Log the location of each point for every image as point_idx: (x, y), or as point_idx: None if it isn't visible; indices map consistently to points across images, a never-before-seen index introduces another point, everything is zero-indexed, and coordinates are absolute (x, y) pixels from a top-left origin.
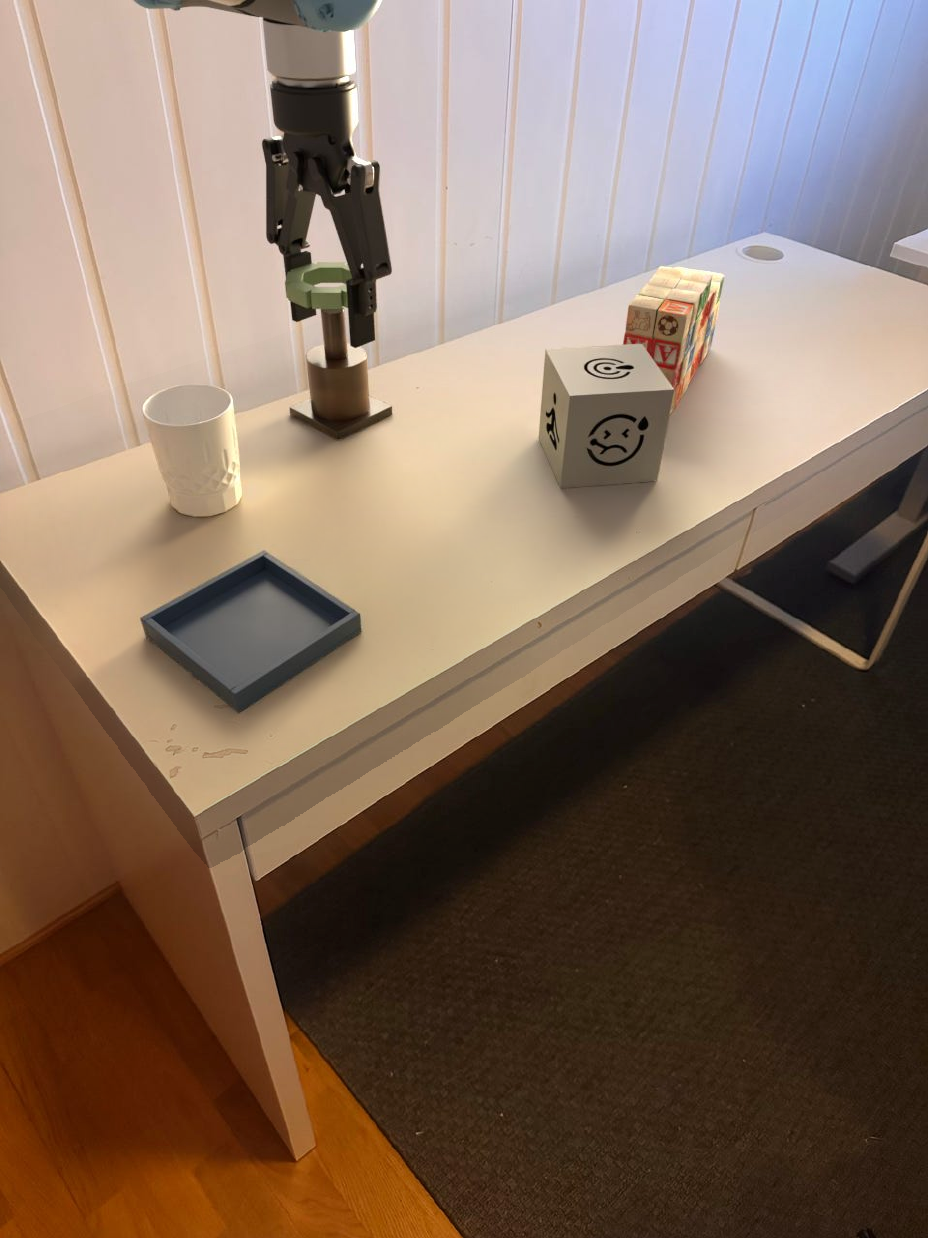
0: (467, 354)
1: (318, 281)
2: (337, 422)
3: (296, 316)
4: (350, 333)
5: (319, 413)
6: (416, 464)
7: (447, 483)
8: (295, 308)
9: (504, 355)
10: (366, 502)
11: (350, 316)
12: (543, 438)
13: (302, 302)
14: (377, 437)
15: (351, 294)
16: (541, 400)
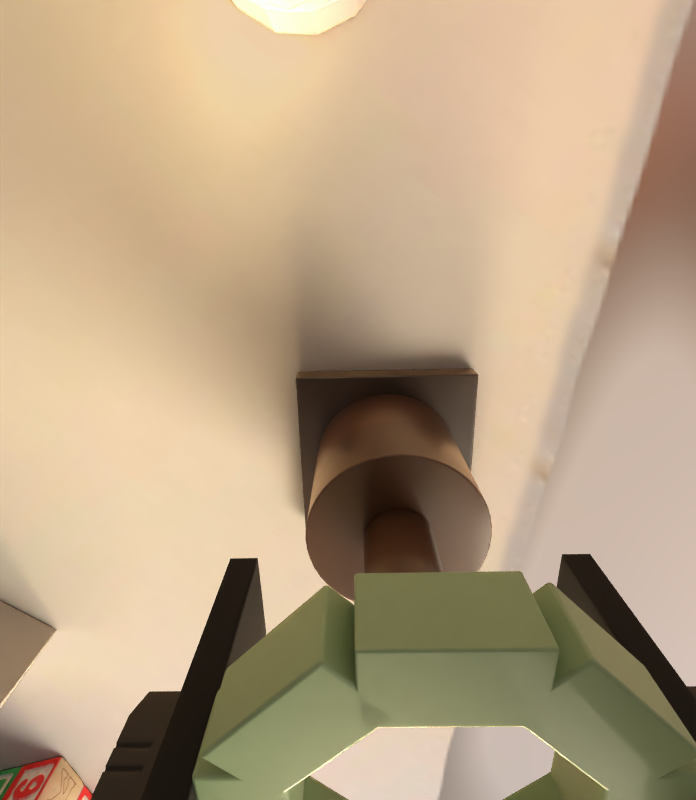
0: (388, 743)
1: (555, 772)
2: (332, 406)
3: (570, 570)
4: (241, 593)
5: (382, 397)
6: (109, 422)
7: (10, 416)
8: (587, 594)
9: (335, 774)
10: (37, 242)
11: (216, 656)
12: (8, 627)
13: (391, 587)
14: (252, 439)
15: (154, 775)
16: (1, 702)
